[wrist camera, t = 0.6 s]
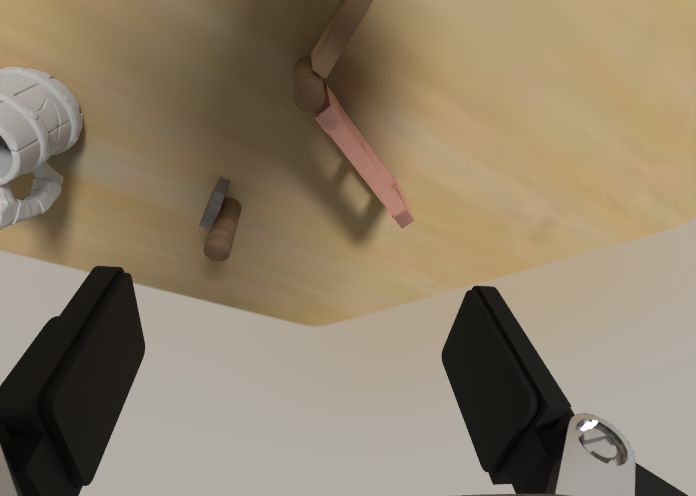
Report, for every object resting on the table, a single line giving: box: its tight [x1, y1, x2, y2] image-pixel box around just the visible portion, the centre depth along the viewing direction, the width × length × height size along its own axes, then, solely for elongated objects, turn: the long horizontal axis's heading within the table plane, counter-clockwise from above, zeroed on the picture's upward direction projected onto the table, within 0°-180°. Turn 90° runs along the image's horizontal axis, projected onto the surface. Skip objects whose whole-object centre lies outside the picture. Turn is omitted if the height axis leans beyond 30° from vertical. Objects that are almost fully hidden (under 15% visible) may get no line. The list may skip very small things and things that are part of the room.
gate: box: [314, 84, 415, 229], centre depth 38 cm, size 14×2×7 cm, turn 36°
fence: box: [200, 0, 373, 261], centre depth 35 cm, size 26×4×8 cm, turn 146°
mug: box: [0, 67, 83, 230], centre depth 33 cm, size 8×12×12 cm, turn 175°
